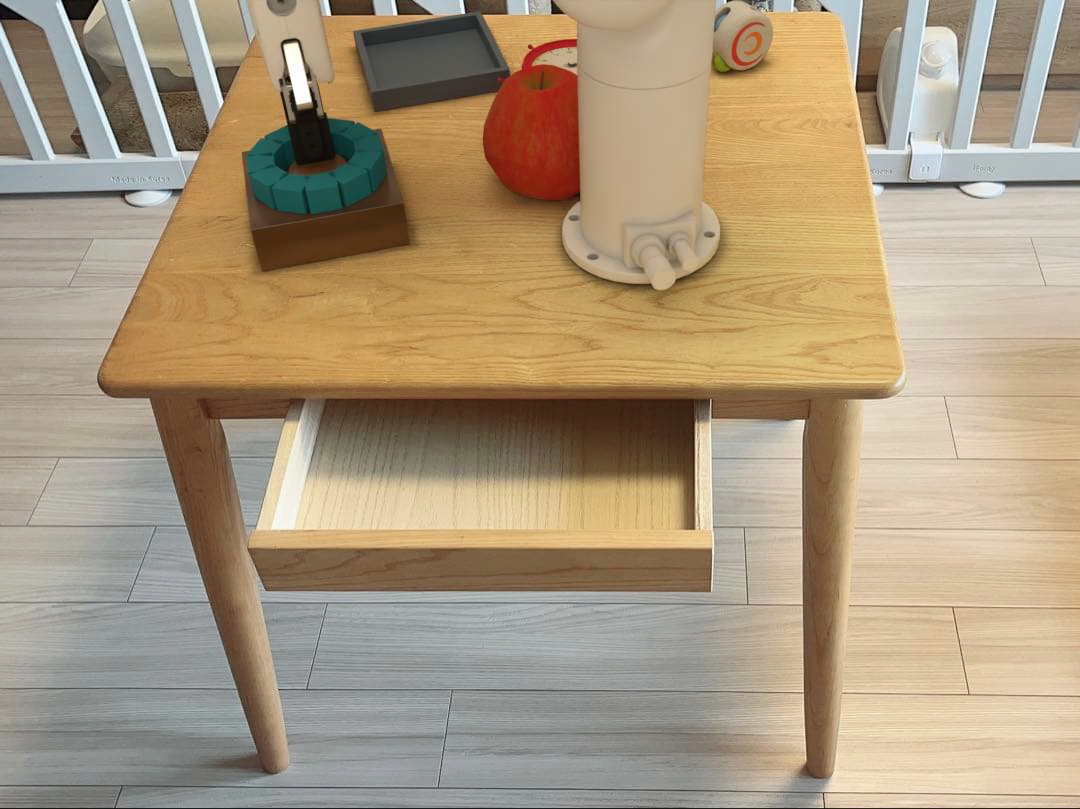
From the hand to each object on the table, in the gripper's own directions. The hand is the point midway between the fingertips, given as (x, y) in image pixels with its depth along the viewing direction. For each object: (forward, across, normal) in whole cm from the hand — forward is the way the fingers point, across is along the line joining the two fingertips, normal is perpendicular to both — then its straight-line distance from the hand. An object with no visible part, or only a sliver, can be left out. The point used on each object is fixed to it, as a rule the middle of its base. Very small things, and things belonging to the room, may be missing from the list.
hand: (311, 143), depth 94 cm
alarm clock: (+5, +7, -26) cm, 28 cm away
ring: (+1, -4, 0) cm, 4 cm away
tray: (+5, +19, -13) cm, 24 cm away
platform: (+5, -4, 0) cm, 6 cm away
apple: (+5, -5, -19) cm, 20 cm away
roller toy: (+5, +9, -42) cm, 44 cm away
